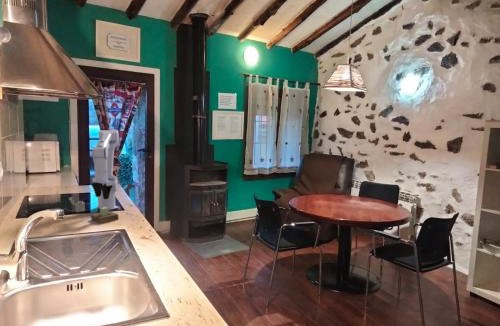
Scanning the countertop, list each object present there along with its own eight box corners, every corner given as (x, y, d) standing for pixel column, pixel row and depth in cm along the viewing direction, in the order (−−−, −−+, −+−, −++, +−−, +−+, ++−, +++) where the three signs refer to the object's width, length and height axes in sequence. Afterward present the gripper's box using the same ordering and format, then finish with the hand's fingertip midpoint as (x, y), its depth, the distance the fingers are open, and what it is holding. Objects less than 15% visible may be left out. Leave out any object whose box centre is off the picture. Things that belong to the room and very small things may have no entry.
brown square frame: (91, 219, 163) (91, 214, 162) (108, 215, 170) (108, 210, 170) (100, 223, 157) (100, 218, 157) (118, 219, 164) (118, 214, 164)
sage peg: (100, 219, 163) (99, 207, 162) (105, 218, 165) (105, 206, 164) (103, 220, 161) (102, 208, 161) (108, 219, 164) (108, 207, 163)
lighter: (84, 210, 179) (83, 195, 178) (85, 210, 178) (84, 196, 176) (69, 212, 174) (68, 197, 173) (70, 213, 173) (69, 198, 172)
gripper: (85, 170, 168) (87, 196, 169) (100, 173, 159) (101, 201, 161) (99, 168, 173) (100, 194, 175) (114, 172, 164) (115, 199, 166)
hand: (102, 197), depth 168 cm, fingers open, 7 cm apart
